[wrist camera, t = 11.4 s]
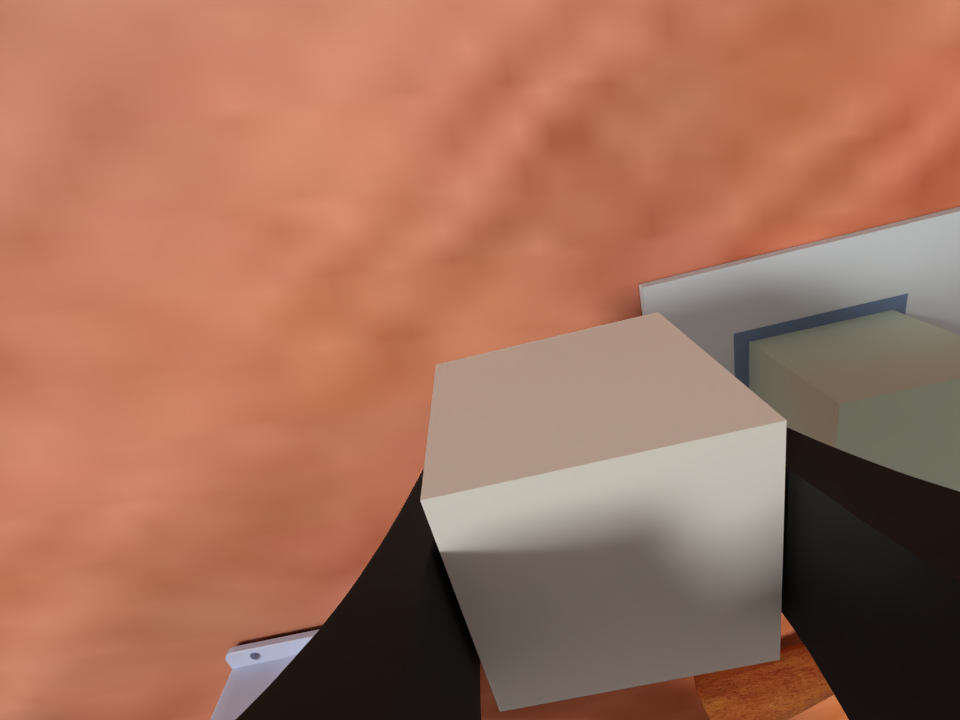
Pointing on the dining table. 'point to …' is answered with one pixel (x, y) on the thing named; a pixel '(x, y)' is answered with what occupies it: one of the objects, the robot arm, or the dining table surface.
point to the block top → (607, 511)
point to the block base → (869, 390)
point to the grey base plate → (816, 287)
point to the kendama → (764, 688)
